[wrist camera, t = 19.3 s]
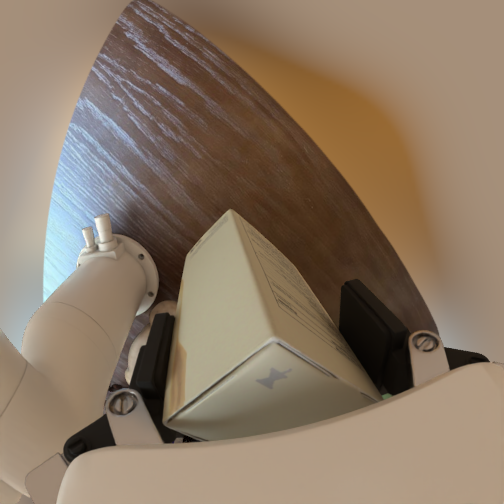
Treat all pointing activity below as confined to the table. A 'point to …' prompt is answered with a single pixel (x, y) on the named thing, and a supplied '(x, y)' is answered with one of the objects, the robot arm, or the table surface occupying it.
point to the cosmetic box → (254, 344)
